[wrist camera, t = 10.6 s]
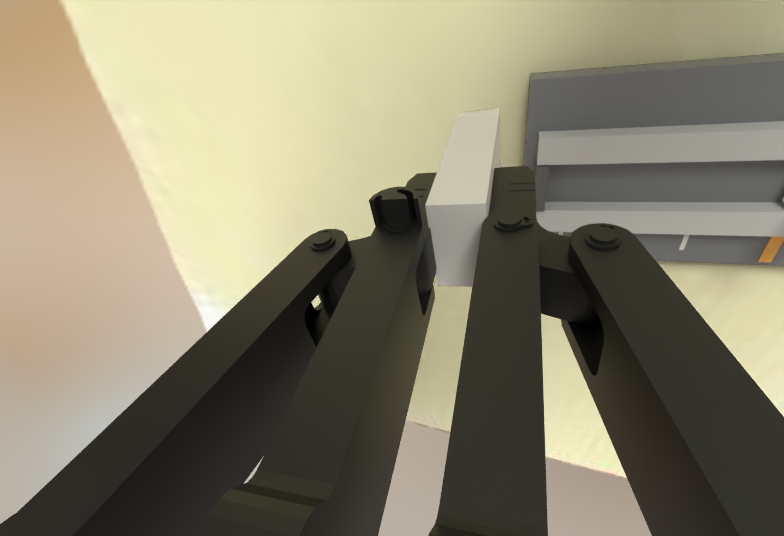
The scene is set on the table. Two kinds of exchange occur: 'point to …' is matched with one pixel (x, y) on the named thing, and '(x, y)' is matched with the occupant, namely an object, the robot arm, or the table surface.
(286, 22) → the table surface
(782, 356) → the table surface
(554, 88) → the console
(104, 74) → the table surface
